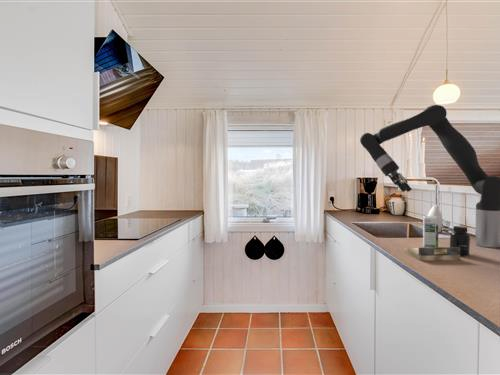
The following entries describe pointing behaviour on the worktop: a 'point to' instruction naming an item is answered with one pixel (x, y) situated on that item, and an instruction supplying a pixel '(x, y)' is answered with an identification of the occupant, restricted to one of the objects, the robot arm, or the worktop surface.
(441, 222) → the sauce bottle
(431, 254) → the price shelf
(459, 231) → the supplement bottle
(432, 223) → the syrup box
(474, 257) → the worktop surface
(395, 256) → the worktop surface
